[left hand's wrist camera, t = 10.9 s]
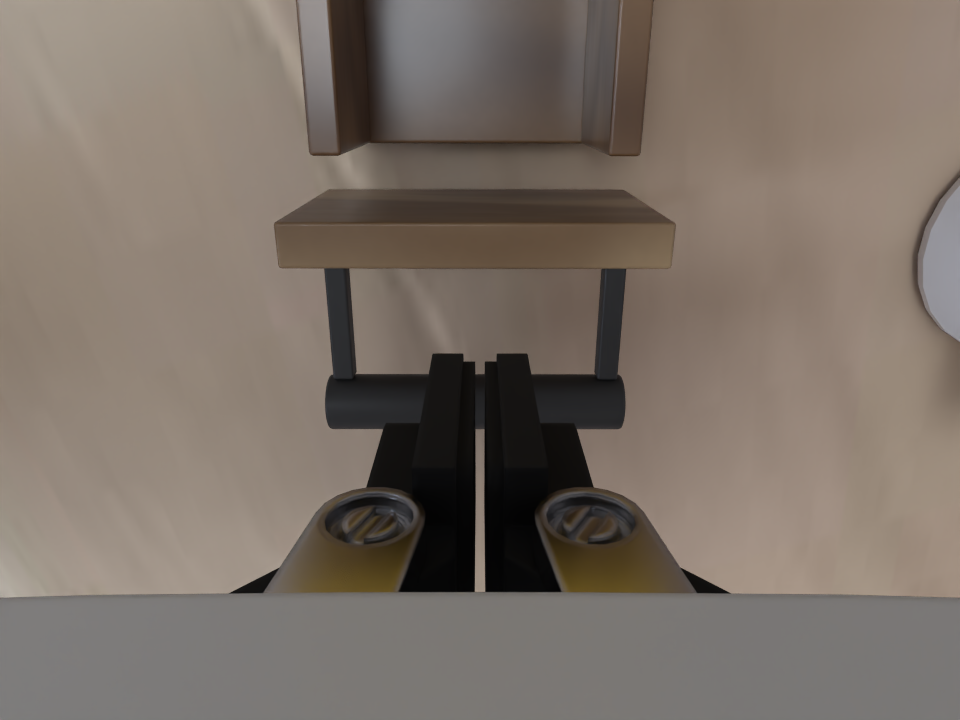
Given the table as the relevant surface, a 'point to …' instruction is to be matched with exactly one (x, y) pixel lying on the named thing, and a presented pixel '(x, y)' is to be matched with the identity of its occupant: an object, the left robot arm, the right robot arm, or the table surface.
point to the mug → (942, 263)
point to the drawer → (474, 213)
